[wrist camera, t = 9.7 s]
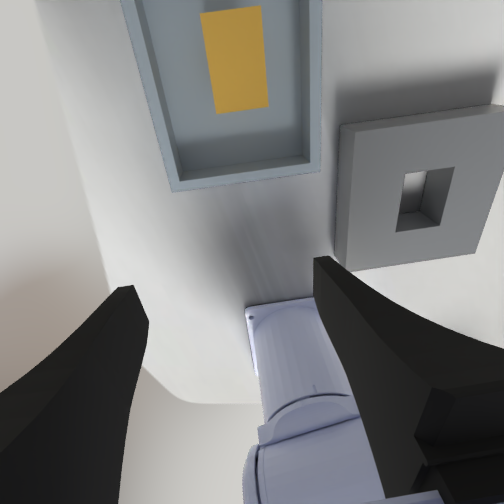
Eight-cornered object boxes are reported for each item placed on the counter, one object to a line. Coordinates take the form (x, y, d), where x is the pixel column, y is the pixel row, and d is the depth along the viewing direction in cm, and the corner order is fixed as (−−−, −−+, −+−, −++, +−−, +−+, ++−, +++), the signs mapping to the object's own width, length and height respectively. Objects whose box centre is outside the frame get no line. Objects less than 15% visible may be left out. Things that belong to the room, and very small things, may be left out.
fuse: (251, 93, 17) (268, 106, 11) (216, 97, 17) (216, 114, 11) (244, 28, 16) (260, 4, 10) (206, 33, 16) (199, 13, 10)
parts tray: (309, 160, 20) (320, 171, 18) (176, 179, 20) (172, 192, 18) (307, -102, 14) (323, -133, 12) (111, -78, 13) (91, -105, 11)
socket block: (452, 237, 25) (474, 253, 22) (334, 254, 24) (345, 272, 22) (491, 104, 19) (525, 108, 17) (339, 125, 19) (355, 132, 17)
